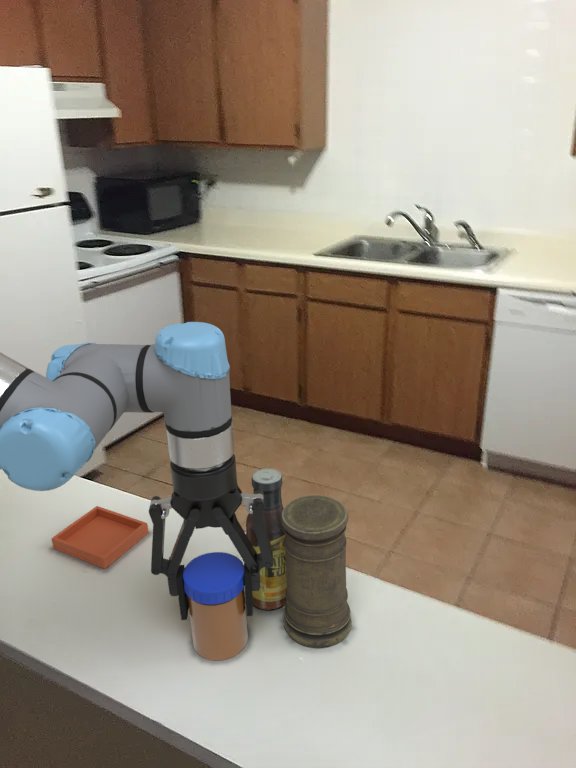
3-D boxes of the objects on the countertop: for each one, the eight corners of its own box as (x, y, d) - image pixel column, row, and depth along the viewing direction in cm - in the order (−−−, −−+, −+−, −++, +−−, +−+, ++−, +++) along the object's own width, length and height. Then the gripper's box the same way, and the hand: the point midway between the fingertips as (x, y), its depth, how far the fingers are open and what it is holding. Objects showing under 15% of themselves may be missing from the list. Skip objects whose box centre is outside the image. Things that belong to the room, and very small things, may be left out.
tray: (53, 548, 107) (51, 538, 106) (98, 515, 115) (96, 505, 115) (105, 569, 102) (103, 558, 101) (148, 533, 110) (147, 522, 109)
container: (361, 639, 87) (362, 525, 80) (295, 656, 85) (290, 540, 78) (337, 594, 95) (336, 486, 88) (276, 609, 93) (270, 499, 86)
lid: (246, 562, 88) (245, 550, 87) (245, 603, 81) (244, 590, 80) (187, 565, 88) (185, 553, 87) (180, 606, 81) (179, 594, 80)
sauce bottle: (271, 619, 91) (263, 495, 83) (239, 598, 95) (229, 479, 87) (302, 594, 96) (298, 474, 88) (271, 575, 99) (264, 459, 92)
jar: (191, 662, 85) (183, 597, 80) (194, 621, 91) (187, 559, 87) (248, 658, 85) (243, 593, 81) (247, 617, 92) (242, 555, 87)
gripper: (289, 436, 81) (295, 585, 90) (118, 445, 80) (142, 595, 89) (293, 467, 74) (298, 626, 83) (106, 478, 73) (133, 637, 82)
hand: (217, 610), depth 86 cm, fingers closed on lid, 8 cm apart
